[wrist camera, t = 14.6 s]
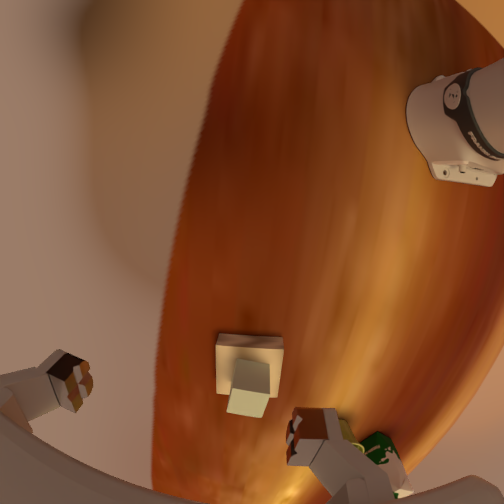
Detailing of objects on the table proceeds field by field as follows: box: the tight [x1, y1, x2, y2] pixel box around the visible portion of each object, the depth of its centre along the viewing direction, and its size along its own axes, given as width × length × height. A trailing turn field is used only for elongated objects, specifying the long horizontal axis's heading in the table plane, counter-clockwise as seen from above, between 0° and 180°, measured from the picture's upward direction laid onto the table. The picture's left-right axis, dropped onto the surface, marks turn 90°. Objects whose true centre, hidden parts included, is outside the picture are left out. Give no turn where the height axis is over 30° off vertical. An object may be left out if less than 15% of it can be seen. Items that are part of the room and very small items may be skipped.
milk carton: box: [360, 431, 414, 499], centre depth 40 cm, size 9×9×20 cm
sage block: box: [227, 358, 270, 418], centre depth 37 cm, size 5×5×7 cm
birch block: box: [216, 333, 284, 397], centre depth 42 cm, size 10×10×4 cm
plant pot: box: [338, 419, 364, 454], centre depth 43 cm, size 9×9×9 cm
